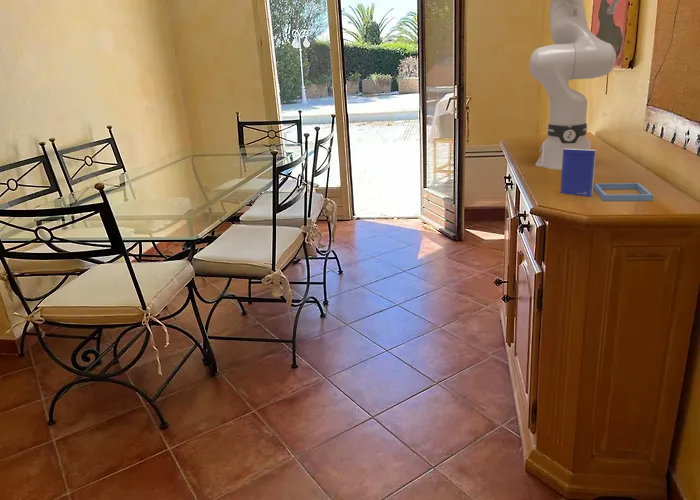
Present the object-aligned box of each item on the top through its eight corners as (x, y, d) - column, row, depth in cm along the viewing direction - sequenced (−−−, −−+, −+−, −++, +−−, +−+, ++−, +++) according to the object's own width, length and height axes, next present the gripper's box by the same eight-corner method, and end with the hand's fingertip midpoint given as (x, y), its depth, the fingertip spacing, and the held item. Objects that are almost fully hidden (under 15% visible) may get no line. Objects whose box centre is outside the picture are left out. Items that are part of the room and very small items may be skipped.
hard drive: (590, 196, 146) (594, 150, 142) (559, 194, 151) (562, 149, 147) (592, 195, 147) (596, 149, 143) (561, 192, 152) (564, 148, 148)
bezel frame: (593, 188, 154) (594, 183, 154) (638, 188, 151) (639, 182, 151) (603, 200, 142) (604, 195, 141) (652, 200, 139) (653, 195, 138)
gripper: (634, -47, 137) (628, 13, 142) (551, -40, 139) (548, 19, 143) (645, -51, 131) (639, 11, 136) (558, -44, 133) (555, 17, 137)
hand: (591, 15), depth 139 cm, fingers open, 8 cm apart
